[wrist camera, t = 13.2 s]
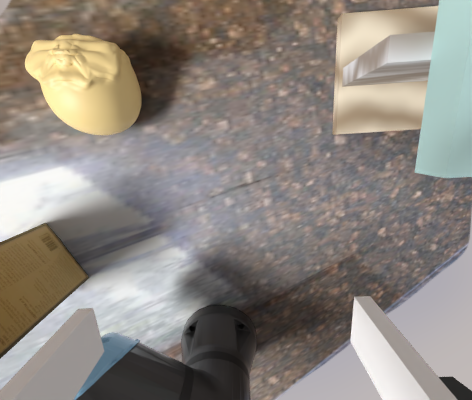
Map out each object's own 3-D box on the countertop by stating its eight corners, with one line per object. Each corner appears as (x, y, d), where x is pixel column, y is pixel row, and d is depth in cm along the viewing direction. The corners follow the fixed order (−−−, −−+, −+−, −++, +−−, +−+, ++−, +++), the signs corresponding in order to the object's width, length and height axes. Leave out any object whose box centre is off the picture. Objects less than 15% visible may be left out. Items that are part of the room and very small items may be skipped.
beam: (445, 170, 26) (482, 176, 22) (414, 172, 26) (445, 178, 22) (500, -135, 19) (566, -204, 15) (458, -130, 19) (513, -198, 15)
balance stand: (414, 129, 36) (497, 123, 24) (332, 134, 36) (376, 131, 25) (429, 11, 32) (538, -62, 20) (337, 19, 32) (392, -49, 21)
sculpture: (147, 53, 34) (106, 15, 23) (152, 136, 37) (118, 134, 26) (71, 52, 34) (-3, 13, 24) (83, 134, 37) (22, 132, 27)
